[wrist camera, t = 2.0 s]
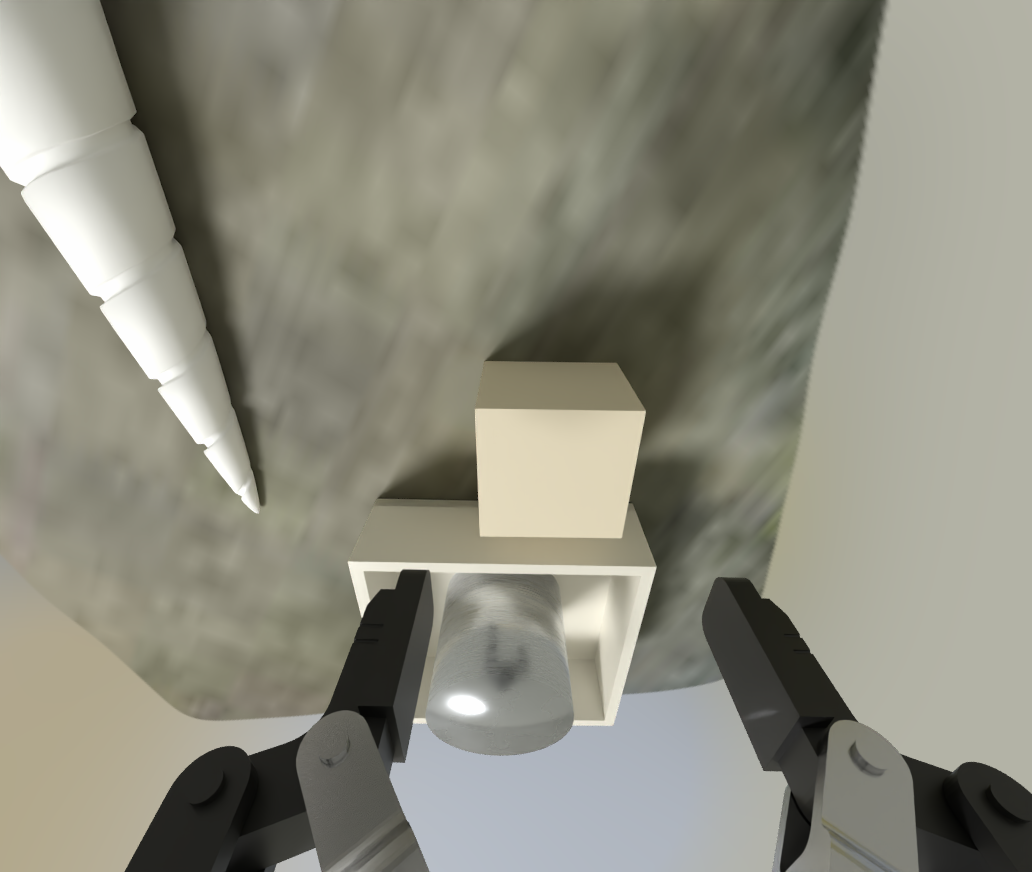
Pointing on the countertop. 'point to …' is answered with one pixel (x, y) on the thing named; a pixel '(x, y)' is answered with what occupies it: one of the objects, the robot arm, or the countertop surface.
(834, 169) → the countertop surface
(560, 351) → the countertop surface
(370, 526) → the box
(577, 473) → the carton
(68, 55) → the unicorn horn
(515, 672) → the tin can
